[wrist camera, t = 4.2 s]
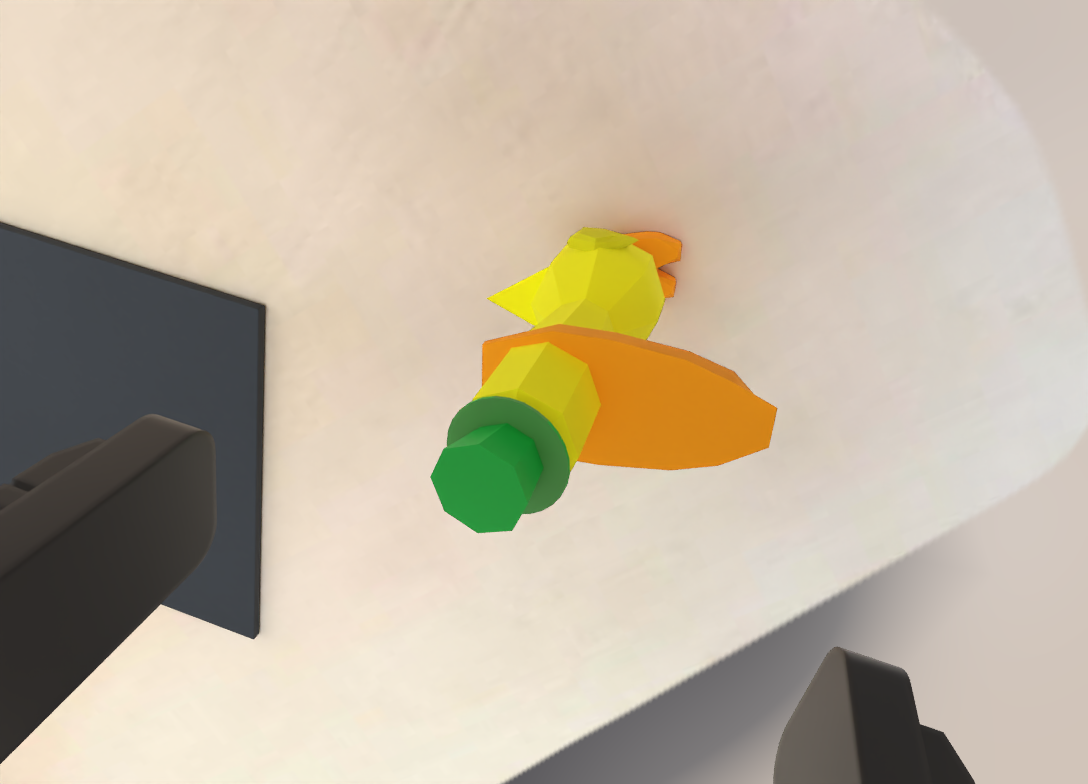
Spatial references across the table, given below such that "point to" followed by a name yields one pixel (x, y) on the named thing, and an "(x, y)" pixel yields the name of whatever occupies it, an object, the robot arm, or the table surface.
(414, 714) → the table surface
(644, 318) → the toy figure
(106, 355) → the mat
